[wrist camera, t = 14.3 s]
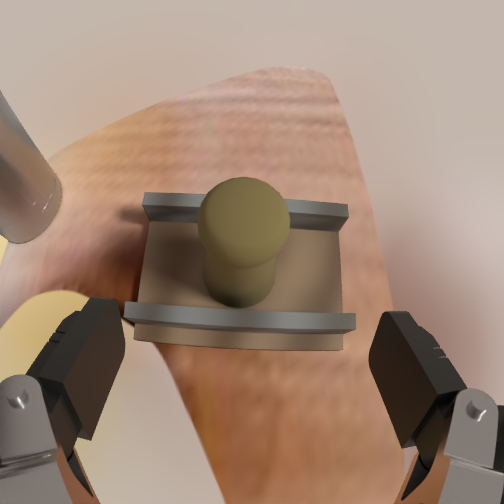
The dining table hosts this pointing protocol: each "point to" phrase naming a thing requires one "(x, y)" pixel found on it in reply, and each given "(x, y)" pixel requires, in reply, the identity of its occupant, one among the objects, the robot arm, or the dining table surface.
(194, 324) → the walnut track
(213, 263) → the olive waisted cylinder
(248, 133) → the dining table surface
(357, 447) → the dining table surface
